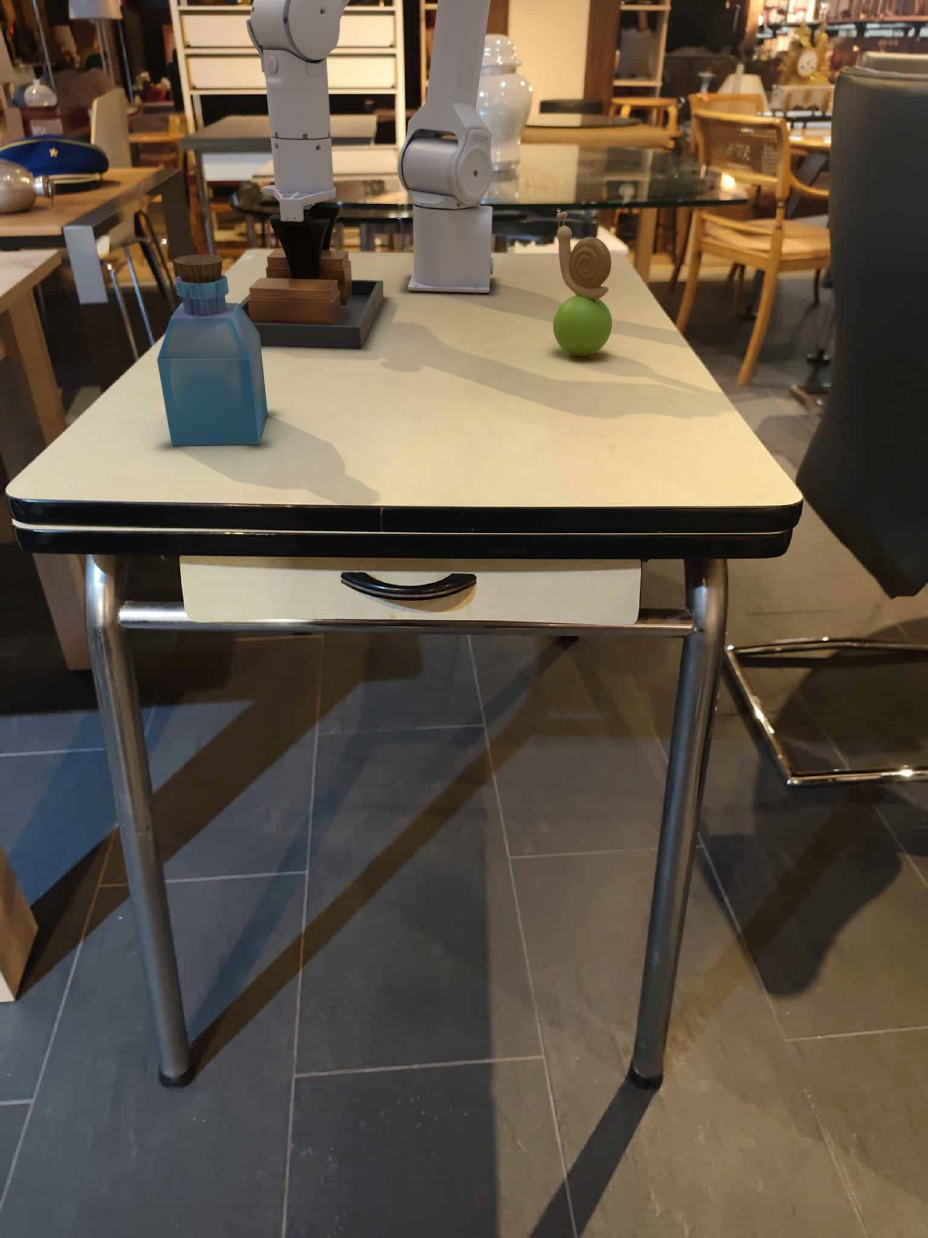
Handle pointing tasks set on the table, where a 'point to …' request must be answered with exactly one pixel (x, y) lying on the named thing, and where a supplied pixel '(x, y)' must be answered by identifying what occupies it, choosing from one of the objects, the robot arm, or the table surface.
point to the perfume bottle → (211, 362)
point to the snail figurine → (583, 294)
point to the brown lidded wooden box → (331, 268)
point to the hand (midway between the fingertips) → (311, 284)
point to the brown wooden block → (295, 301)
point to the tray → (347, 335)
